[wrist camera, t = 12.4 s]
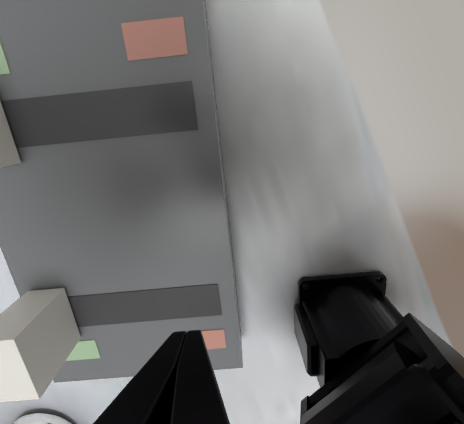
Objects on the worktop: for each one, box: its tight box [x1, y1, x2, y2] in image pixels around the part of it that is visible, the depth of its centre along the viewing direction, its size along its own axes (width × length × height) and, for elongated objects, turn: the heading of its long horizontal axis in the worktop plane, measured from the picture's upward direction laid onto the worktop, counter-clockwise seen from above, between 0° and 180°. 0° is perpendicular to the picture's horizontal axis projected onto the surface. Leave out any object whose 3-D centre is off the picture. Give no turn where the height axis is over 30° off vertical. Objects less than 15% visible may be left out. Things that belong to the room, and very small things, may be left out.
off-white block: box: [0, 288, 81, 402], centre depth 16 cm, size 2×4×4 cm, turn 5°
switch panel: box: [0, 0, 243, 383], centre depth 18 cm, size 14×24×3 cm, turn 6°
